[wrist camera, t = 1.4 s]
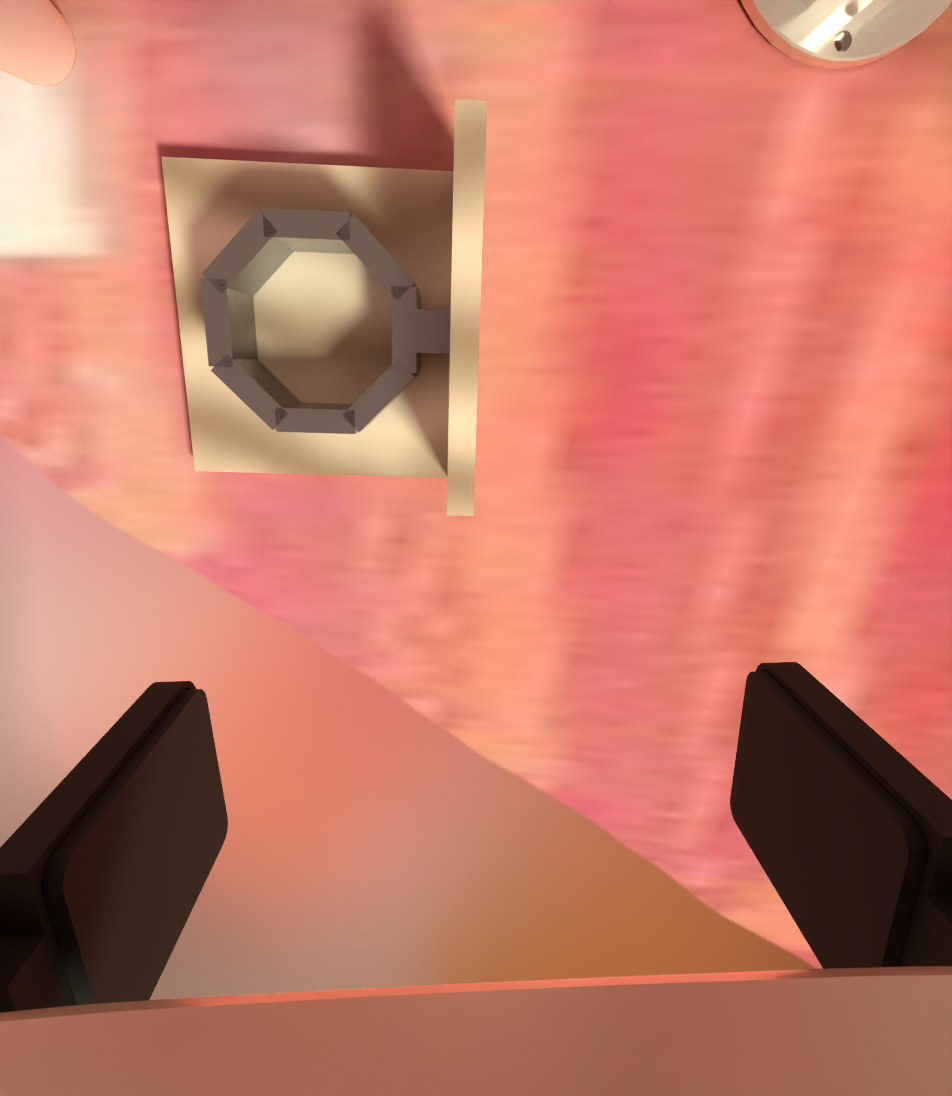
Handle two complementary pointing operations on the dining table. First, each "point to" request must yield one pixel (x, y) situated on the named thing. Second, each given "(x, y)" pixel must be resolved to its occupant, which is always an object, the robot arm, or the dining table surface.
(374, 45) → the dining table surface
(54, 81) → the smoothie
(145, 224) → the dining table surface
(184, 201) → the holder
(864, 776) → the robot arm
